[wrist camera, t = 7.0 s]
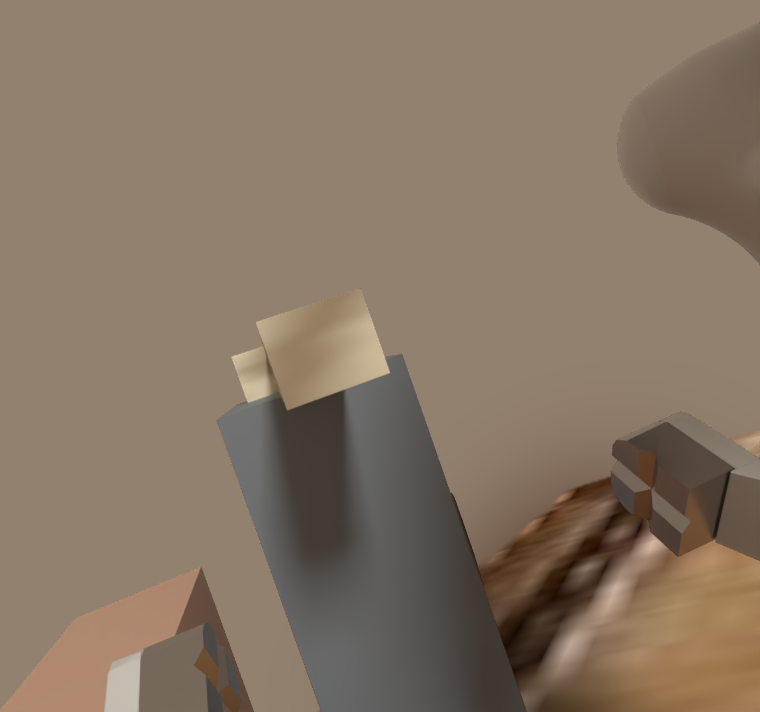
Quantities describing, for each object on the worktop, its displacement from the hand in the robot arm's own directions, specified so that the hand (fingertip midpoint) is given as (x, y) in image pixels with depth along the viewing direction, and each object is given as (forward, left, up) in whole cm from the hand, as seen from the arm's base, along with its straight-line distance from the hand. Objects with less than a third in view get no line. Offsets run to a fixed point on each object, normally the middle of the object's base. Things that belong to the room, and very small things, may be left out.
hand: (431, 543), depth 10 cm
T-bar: (0, -16, +3) cm, 16 cm away
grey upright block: (0, -22, -23) cm, 32 cm away
